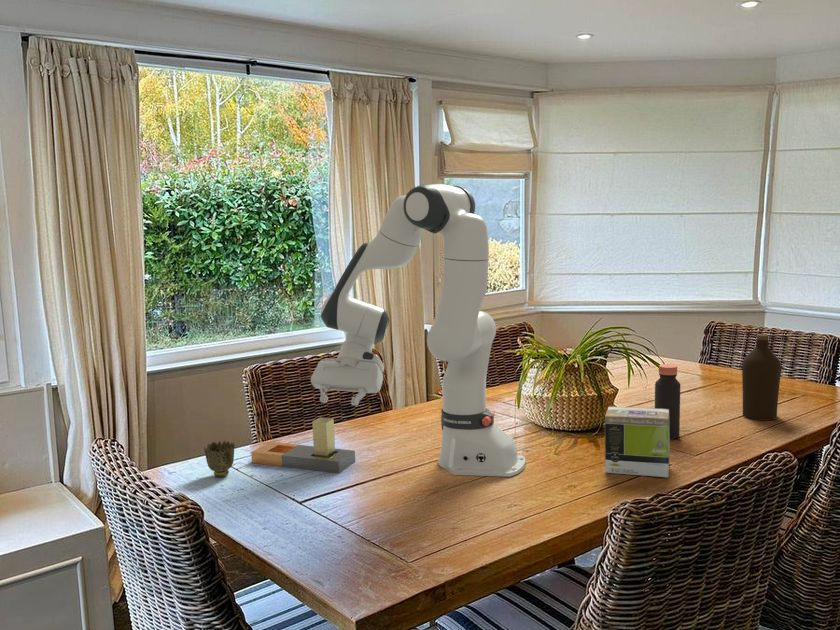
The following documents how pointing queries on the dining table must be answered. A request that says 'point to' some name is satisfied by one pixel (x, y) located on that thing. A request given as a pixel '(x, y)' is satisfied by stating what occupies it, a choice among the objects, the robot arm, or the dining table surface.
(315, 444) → the yellow rectangular block
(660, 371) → the bottle
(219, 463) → the cup
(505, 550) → the dining table surface
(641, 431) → the tea box
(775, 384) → the olive oil
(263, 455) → the rail
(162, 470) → the dining table surface
